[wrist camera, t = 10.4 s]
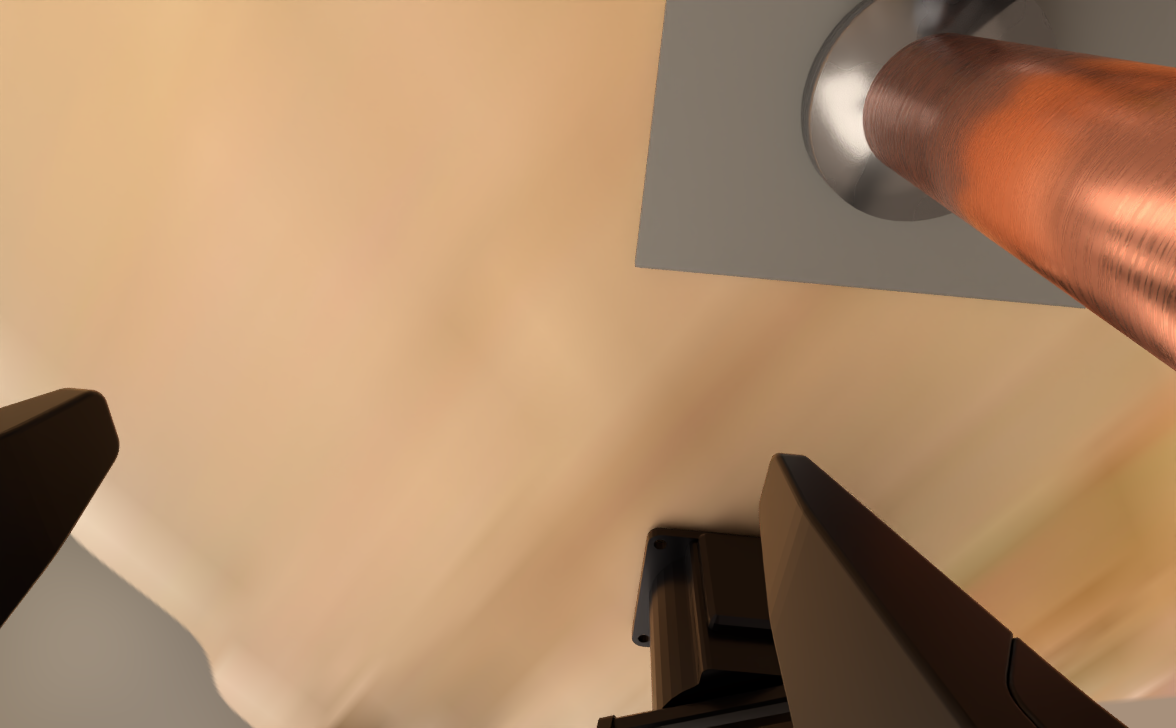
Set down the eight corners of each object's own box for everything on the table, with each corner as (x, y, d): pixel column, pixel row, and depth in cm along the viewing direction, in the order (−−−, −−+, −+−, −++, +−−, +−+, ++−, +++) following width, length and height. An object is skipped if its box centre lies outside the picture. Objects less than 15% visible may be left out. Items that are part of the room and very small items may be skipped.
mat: (1077, 303, 21) (1085, 308, 21) (635, 262, 21) (635, 267, 21) (1306, -177, 15) (1322, -181, 15) (693, -231, 16) (695, -236, 15)
